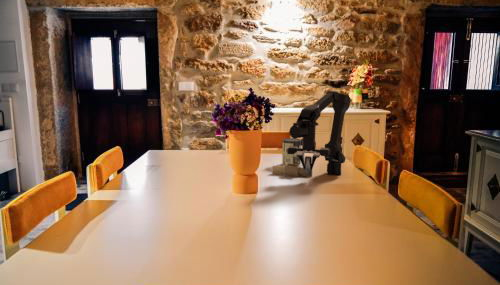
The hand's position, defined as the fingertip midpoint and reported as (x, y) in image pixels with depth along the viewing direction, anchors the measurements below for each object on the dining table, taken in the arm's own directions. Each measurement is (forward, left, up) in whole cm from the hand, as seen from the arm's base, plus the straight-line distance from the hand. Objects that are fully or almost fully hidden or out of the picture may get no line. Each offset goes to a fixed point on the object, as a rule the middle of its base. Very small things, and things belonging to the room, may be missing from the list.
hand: (308, 169), depth 170 cm
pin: (0, 0, -2) cm, 2 cm away
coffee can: (+13, -30, -6) cm, 33 cm away
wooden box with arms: (+9, -10, -6) cm, 14 cm away
